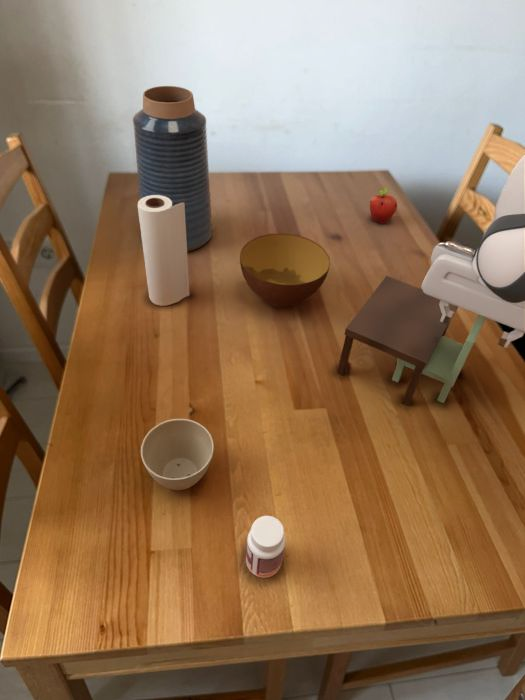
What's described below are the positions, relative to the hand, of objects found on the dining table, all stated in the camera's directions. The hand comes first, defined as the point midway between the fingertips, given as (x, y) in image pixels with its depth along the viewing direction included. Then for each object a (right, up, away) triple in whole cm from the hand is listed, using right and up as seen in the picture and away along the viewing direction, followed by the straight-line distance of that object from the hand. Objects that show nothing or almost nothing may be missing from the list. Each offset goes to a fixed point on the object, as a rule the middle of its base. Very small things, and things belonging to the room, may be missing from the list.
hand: (473, 332), depth 83 cm
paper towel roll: (-54, +8, +22) cm, 59 cm away
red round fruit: (-4, +30, +49) cm, 58 cm away
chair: (-4, -7, +11) cm, 14 cm away
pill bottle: (-34, -31, -15) cm, 48 cm away
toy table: (-10, -5, +13) cm, 17 cm away
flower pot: (-46, -21, -7) cm, 51 cm away
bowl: (-30, +8, +25) cm, 40 cm away
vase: (-54, +24, +39) cm, 71 cm away
